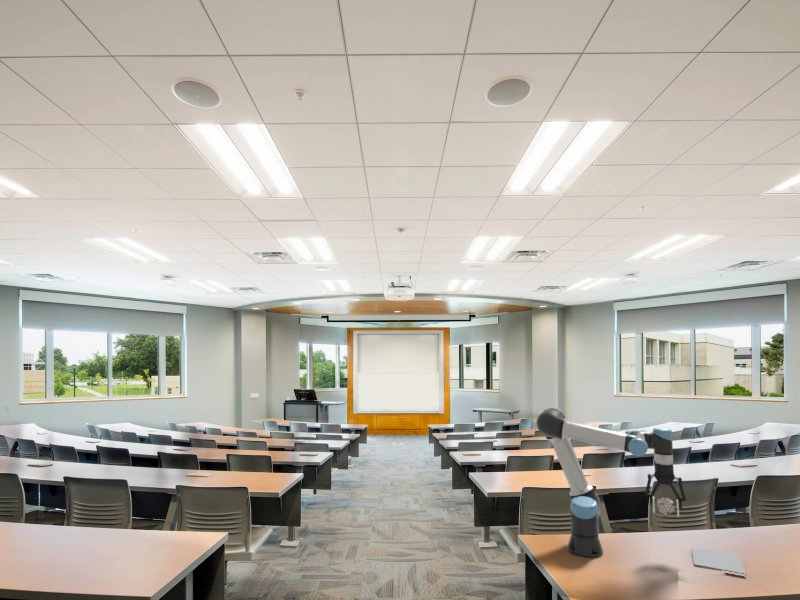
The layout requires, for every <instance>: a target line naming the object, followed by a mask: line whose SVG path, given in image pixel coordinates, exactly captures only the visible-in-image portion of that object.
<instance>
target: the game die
mask: <svg viewBox="0 0 800 600" xmlns="http://www.w3.org/2000/svg"><path fill="white" fill-rule="evenodd" d="M654 500H655V502H656V509H657V510H656V512H657V513H658V512H660V513H661V514H663V515H664V516H665V518H667V516H668V515H671V514H672V513H676V514H677V510H676V508H675V503H674V502H675V500H674V499H673V500H671V499H670V498H668V497H667V495H666V494H664V496H663V497H660V498H658V499H655V498H654Z"/></svg>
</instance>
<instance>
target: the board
mask: <svg viewBox="0 0 800 600" xmlns="http://www.w3.org/2000/svg"><path fill="white" fill-rule="evenodd" d="M691 557H692V561H693V562H694V563H693V566H694V567H696V566H698V567H697V568H703V567H706V568H705V569H709V568H712V569H711V570H715V569H717V570H716V571H721V570H724V571H729V572H735V573H741V574H745V575H746V571H745V568H744V566H743V563H742V560H741V557H740V555H737V554H732V553H727V552H723V551H717V550H715V551H714V550H709V549H703V548H698V547H691Z"/></svg>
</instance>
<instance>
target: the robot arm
mask: <svg viewBox="0 0 800 600" xmlns="http://www.w3.org/2000/svg"><path fill="white" fill-rule="evenodd" d="M535 423H536V427H537V429H538V431H539V432H540V433H541V434H542V435H543V436H545V438H546V440H547V441H549V442H551V445H552V447H553V449H554V452H555V455H556V457H557V459H558V462H559V464H560V466H561V469H562V470H563V471H562V472H563V474H564V477H565V478H566V481H567V483H568V485H569V489H570V491H569V497H570V506H569V507H570V531H571V533H570V536H569V539H568V543H567V551H568V553H569V554H571V555H574V556H576V557H580V558H587V559H596V558H601V557H602V556H603V555H604V550H603V547H602V545H601V540H600V538H599V518H600V514H601V511H602V502H601V498H600V497H599V495H598V494H597V493H596V492H595V490H594V487H593V486H592V485H591V484H589V483H588V481H587V478H586V476H585V474H584V470H583V468H582V467H581V464H580V461H579V459H578V457H577V454H576V452H575V450H574V447H573V444H572V442H571V440H573V441H577V442H582V443H587V444H592V445H596V446H599V447H600V446H601V447H605V448H609V449H614V450H619V451H623V452H626V453H631V454H632V455H633V456H635V457H642V456H644V455H646V454H647V451H648V450H649V449H650V450H653V457H654V473H649V472H648V473H647V483H646V486H645V487H646V488H645V492H644V493H645V494H644V495H645V496H646V497H648V498H649V505H651V506H652V513H653V514H656V505H655V502H656V501H655V500H654V499H655V493H656V492H657V490H658V488H659V486H660V485H666V486H669V487H670V488H671V490H672V492H673V493H674V495H675V497H676V511H677V513H676V514H677V516H676V517H680V510H682V507H683V505H682V504H683V503H682V502H684V501H685V502H686V501H687V497H686V494H685V491H684V490H685V489H684V487H683V483H682V481H683V478H682V476H675V472H674V464H673V463H674V453H673V451H674V450H673V447H674V446H673V436H672V435H673V434H672V433H673V432H672V430H671V429H670V428H668V427H654V428H653V429H652V431H642V430H641V431H640V430H633V429H632V430H625V432H624V433H623V432H618V431H613V430H610V429H604V428H599V427H595V426H591V425H586V424H581V423H576V422H572V421H568V419H567V418H566V415H565V414H564V412H563V411H562V410H560V409H558V408H556V407H550V408H547V409H544V410H543V411H542V412H541V413H540V414H539V415H538V417H536V422H535ZM654 478H655V480H656V482H655V484H654V486H653V488H652V489H651V491H650V487H651V483H652V480H653V479H654ZM674 480H676V482H677V483H678V486H679V491H680V494H681V495H680V494H679V492H678V490H677V488H676V487H675V485H674V483H673V482H674Z"/></svg>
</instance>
